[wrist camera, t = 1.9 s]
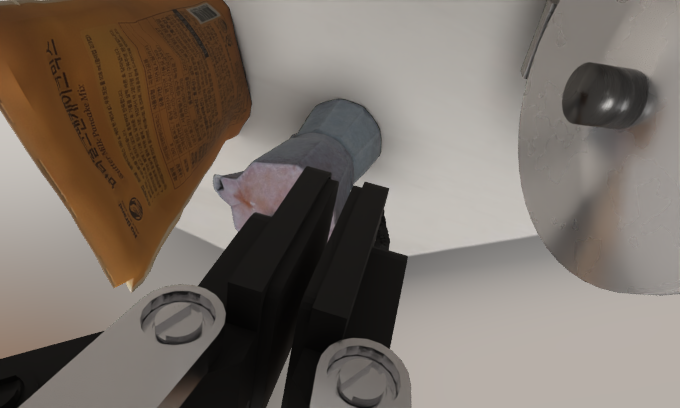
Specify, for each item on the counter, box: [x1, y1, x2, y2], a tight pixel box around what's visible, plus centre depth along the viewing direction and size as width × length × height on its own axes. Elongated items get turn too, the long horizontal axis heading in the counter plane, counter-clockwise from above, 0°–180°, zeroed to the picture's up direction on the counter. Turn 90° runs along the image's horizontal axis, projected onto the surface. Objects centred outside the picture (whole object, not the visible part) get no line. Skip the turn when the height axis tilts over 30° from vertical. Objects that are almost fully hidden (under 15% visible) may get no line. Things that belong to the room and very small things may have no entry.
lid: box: [518, 0, 680, 296], centre depth 23 cm, size 22×19×4 cm
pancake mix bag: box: [0, 0, 252, 293], centre depth 40 cm, size 7×19×28 cm, turn 9°
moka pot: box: [213, 99, 390, 250], centre depth 44 cm, size 10×15×20 cm, turn 76°
